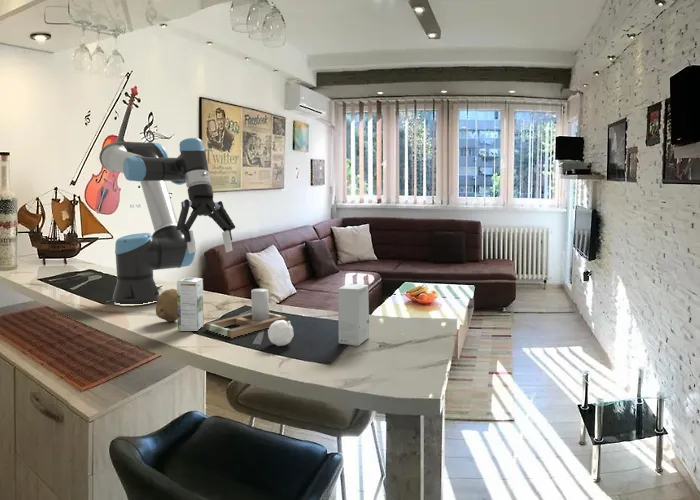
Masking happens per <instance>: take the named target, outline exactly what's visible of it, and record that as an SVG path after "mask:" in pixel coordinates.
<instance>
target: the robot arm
mask: <svg viewBox="0 0 700 500" xmlns="http://www.w3.org/2000/svg"><path fill="white" fill-rule="evenodd" d="M178 146H179V152H180V154H179V155H178V156H177V157H169V156H168V152H167V150H166V148H165V147H164V146H163V145H162V144H160V143H158V142H152V141H148V142H137V141H122V140H121V141H120V140H119V141H114V142H111V143H108V144H107V145H104V146H103V148H102V149H101V151H100V153H99V156H98V157H99V158H98V159H99V163H100V164H101V166H102V167H103V169H106V170H107V171H109V172H112V173H122V174H123V176H124V178H125V179H126V180H127V181H129V182H130V181H131V182H139V183H140V185H141V189H142V192H143V195H144V198H145V201H146V205H147V209H148V213H149V216H150V219H151V223H152V226H153V231H154V232H153V233H152V234H151V232H141V233H133V234H128V235H124V236H121V237H119V238H117V239H116V241H115V248H114V254H115V267H116V284H115V287H114V290H113V291H114V292H113V295H112V302H113V301H114V302H116V303H120V304H143V303H148V302H153V301H157V300H158V298H159V296H160V292H159V289H158V287H157V284H156V282H155V279H154V271H157V270H158V271H159V270H167V269H168V270H169V269H177V268H178V269H180V268H184V267H188V266H191V265H192V264H193V262H194V259H195V256H196V252H197V249H196V240H195V237H194V231H193V230H192V229H191V228H192V227H193V224H194V223H195V221H196V219H197V217H198V216H199V217H201V216H204V217H207V216H208V217H209V219H210V218H211V219H212V220H213V221H214V223H216V224H217V226H218V227H219V228H220V229H221V231H223V232H222V233H221V234H222V239H223V245H224V251H225V253H230V252H232V251H234V249H233V245H232V241H233V236H232V230H234V229H236V225H235V223H234V222H233V220H232V219H231V217H230V216H229V214H228V212H227V211H226V208H225V207H224V203H223V202H222V201H221V200H219V201H218V202H217V201H216V202H215V201H214V191H213V187H212V185H211V184H212V181H211V176H210V171H209V165H208V159H207V154H206V153H207V152H206V148H205V145H204V142H203V140H202V139H200V138H196V137H189V138H185V139H184V138H183V140H181V141H180V142H179V145H178ZM166 182H171V183H172V184H174V185H176V186H177V185H179V186H181V185H184V184H186V188H187V190H186V191H187V196H188V199H185V200H183V201H181V203H180V204H181V209H180V214H179V216H178V219H177V215H176V213H175V208H174V207H173V202H172V200H171V199H172V198H171V196H170V193H169V190H168V187H167V183H166ZM190 208H191V209H192V211H191V213H190V215H189V211H190ZM188 215H189V217H188ZM190 229H191V230H190Z"/></svg>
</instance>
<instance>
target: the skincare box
mask: <svg viewBox="0 0 700 500" xmlns="http://www.w3.org/2000/svg"><path fill="white" fill-rule="evenodd" d="M369 292H370V291H369V284H359V283H358V284H356V283H349V284H346V285H345V284H344V285H343V286H341V287H339V288H338V289H337V300H338V301H337V305H338V306H337V309H338V311H337V313H338V314H337V315H338V316H337V317H338V319H337V320H338V321H337V322H338V344H342V345H348V346H355V347H359V346H360V345H361V344H363V343H364V342H365V341H366V340H368V339H369V338H370V307H369V305H370V304H369V303H370V302H369V301H370V300H369Z"/></svg>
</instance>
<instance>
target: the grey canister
mask: <svg viewBox="0 0 700 500" xmlns="http://www.w3.org/2000/svg"><path fill="white" fill-rule="evenodd" d="M250 292H251V294H250V295H251V298H250V299H251V313H252V320H254V321H257V322H260V321H264V320H268V319H269V313H270V301H269V299H270V298H269V297H270V296H269V289H268V288H253V289H251V291H250Z"/></svg>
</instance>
